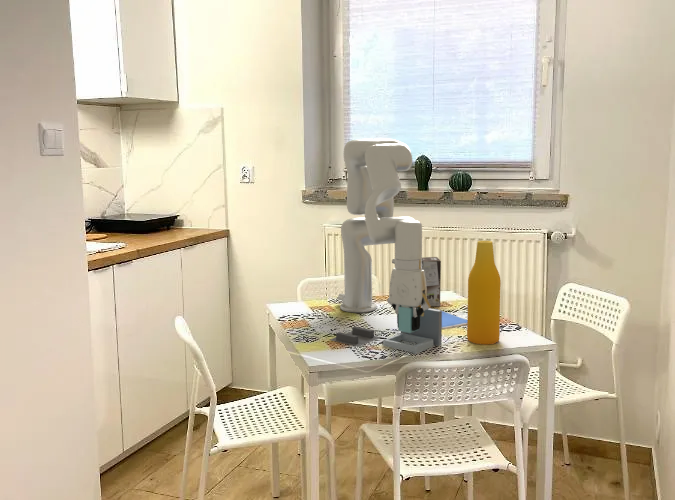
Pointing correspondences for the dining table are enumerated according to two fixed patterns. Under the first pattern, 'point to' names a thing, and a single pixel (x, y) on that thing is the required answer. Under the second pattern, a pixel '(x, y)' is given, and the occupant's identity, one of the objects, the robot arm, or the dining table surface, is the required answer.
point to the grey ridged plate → (356, 337)
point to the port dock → (420, 334)
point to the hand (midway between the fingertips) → (408, 327)
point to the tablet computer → (452, 321)
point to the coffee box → (432, 279)
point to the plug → (405, 318)
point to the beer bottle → (484, 297)
